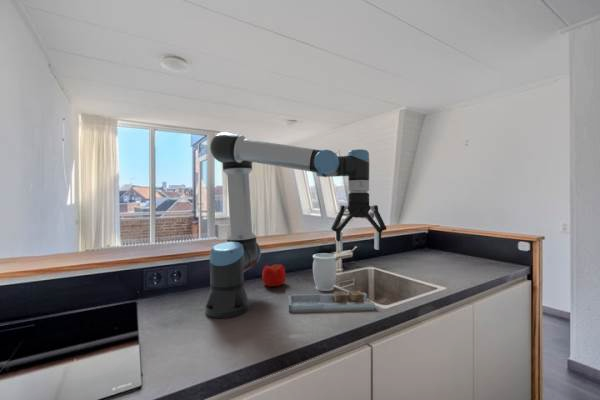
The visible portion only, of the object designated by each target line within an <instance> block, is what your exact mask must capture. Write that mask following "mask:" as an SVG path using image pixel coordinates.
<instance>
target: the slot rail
mask: <svg viewBox="0 0 600 400" xmlns="http://www.w3.org/2000/svg"><path fill="white" fill-rule="evenodd" d="M345 293H346V295H347V302H342V303H334V293H304V294H303V293H302V294H301V293H299V294H296V293H295V294H288V298H287V300H288V302H287V303H288V304H287V305H288V312H289V313H305V312H308V313H311V312H344V311H375V310H376V309H375V302H373V301H369V300H368V294H367V293H366V292H362V293H363V294H364V302H349V292H348V293H347V292H345Z"/></svg>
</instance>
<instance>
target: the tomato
mask: <svg viewBox="0 0 600 400" xmlns="http://www.w3.org/2000/svg"><path fill="white" fill-rule="evenodd" d="M261 272H262V273H261V274H262V275H261V278H262V282H263V284H264V285H265V286H267V287H269V288H272V287H279V286H282V285H283V284H284V283H285V282H286V277H287V276H286V268H285V267H284V265H283V264H280V263H279V264H276V263H275V264H272V265H267V264H266V265H265V266H264V267H263V269H262V271H261Z"/></svg>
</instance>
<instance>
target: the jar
mask: <svg viewBox="0 0 600 400" xmlns="http://www.w3.org/2000/svg"><path fill="white" fill-rule="evenodd" d="M337 257H338V256H337V255H336V254H334V253H328V252H323V253H322V252H320V253H314V254H312V258H313V261H312V275H313V281H314V284H315V289H316V290H318V291H323V292H328V291H333V290H334V289H335V287H334V286H335V284H336V279H337V273H338V271H337V270H338V267H337V266H338V265H337V261H336V260H337Z"/></svg>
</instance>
